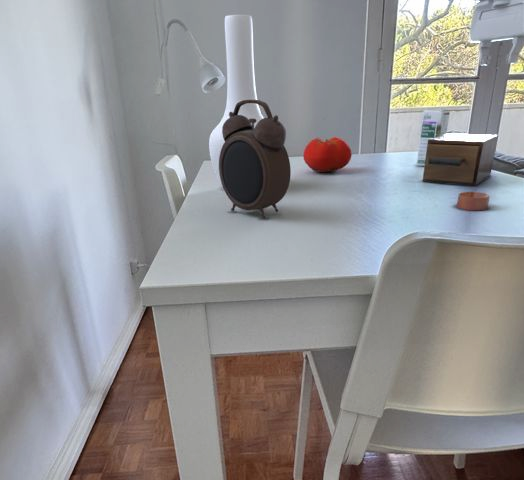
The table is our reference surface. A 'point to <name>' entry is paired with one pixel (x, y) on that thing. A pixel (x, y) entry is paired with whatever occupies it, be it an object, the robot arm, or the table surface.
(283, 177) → the alarm clock
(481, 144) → the cabinet
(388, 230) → the table surface
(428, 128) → the syrup box
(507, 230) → the table surface
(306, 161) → the tomato
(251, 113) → the vase
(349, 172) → the table surface
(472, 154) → the drawer
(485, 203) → the brown round bowl
